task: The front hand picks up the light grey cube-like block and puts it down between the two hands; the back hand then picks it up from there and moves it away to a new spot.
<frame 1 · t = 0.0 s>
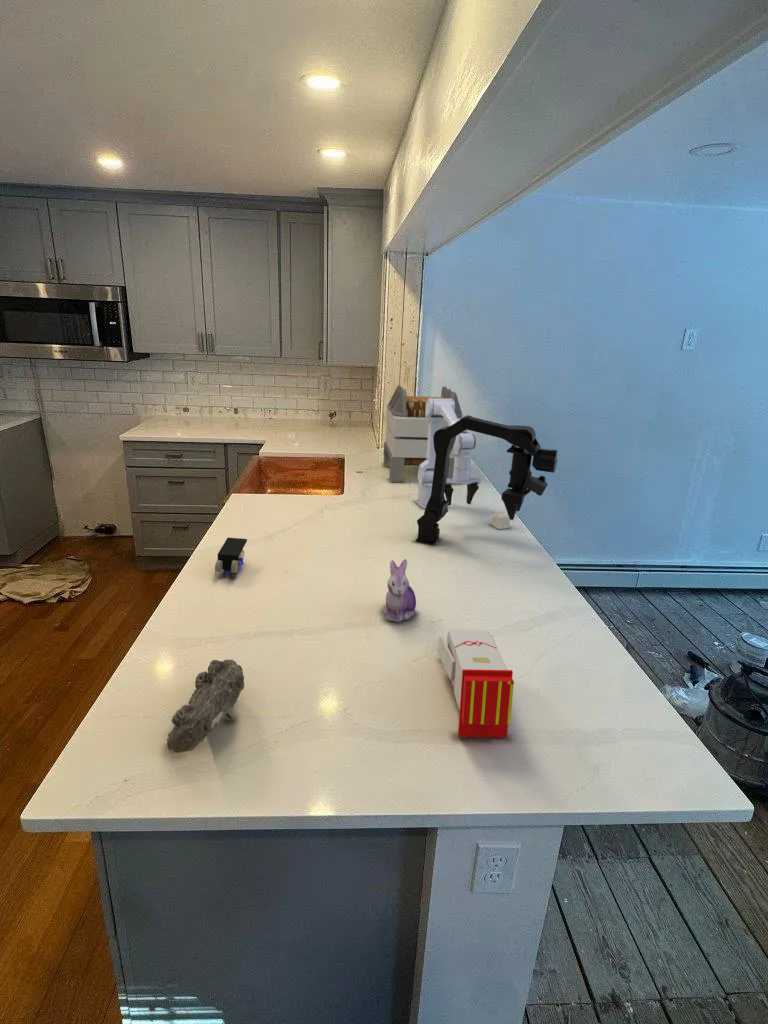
front hand: (514, 515, 180), 15 cm above the counter, tool pointing down, fingers open, 9 cm apart
back hand: (458, 504, 202), 10 cm above the counter, tool pointing down, fingers open, 7 cm apart
light grey cube-like block: (500, 526, 211), on the counter
figurine character: (232, 569, 168), on the counter
toy: (469, 691, 119), on the counter
figurine: (399, 614, 147), on the counter
fossil: (212, 717, 108), on the counter
grey wooden planter box: (419, 473, 275), on the counter
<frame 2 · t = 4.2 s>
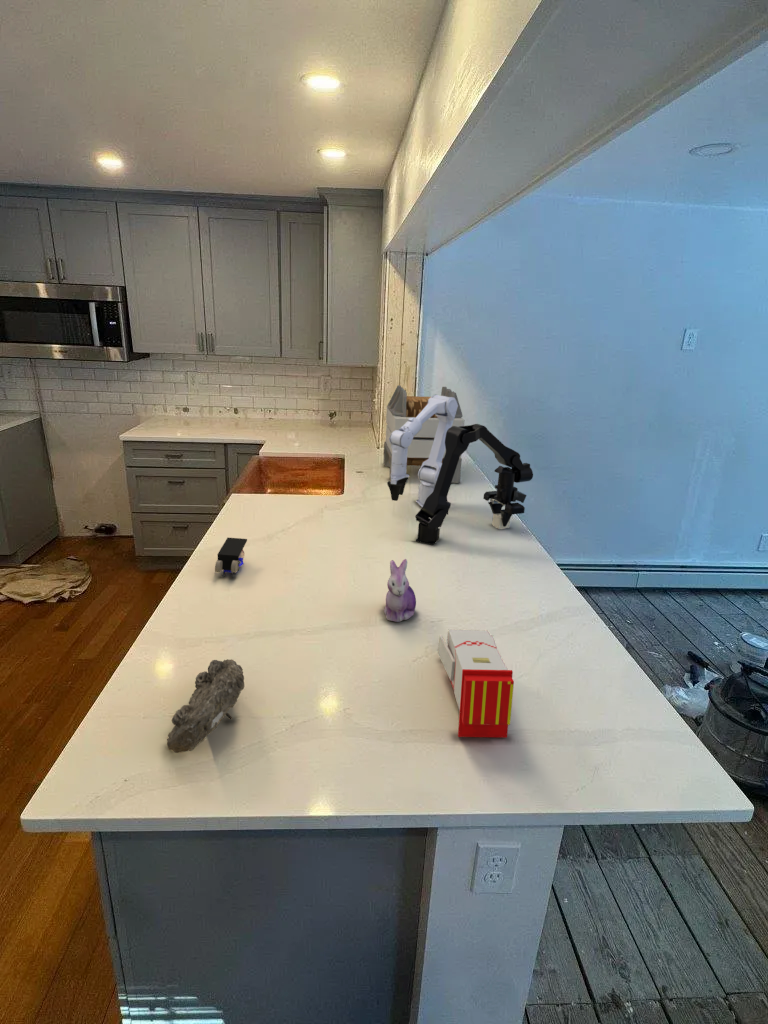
front hand: (500, 524, 211), 1 cm above the counter, tool pointing down, fingers closed on light grey cube-like block, 4 cm apart
back hand: (397, 497, 216), 7 cm above the counter, tool pointing down, fingers open, 7 cm apart
light grey cube-like block: (500, 526, 211), on the counter, touching front hand
everything else where it was.
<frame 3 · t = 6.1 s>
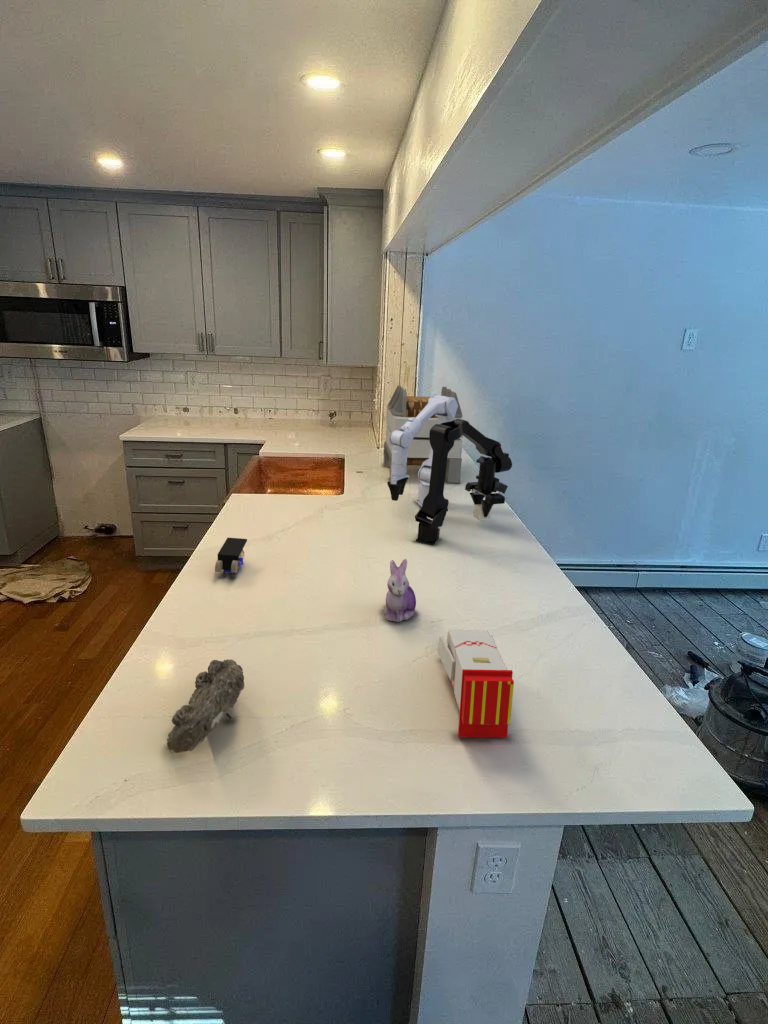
front hand: (482, 514, 210), 4 cm above the counter, tool pointing down, fingers closed on light grey cube-like block, 4 cm apart
back hand: (397, 497, 216), 7 cm above the counter, tool pointing down, fingers open, 7 cm apart
light grey cube-like block: (481, 517, 210), point 3 cm above the counter, touching front hand
everything else where it was.
when the front hand's fingers open (2 cm above the counter, at t = 8.5 s): light grey cube-like block stays where it is, on the counter.
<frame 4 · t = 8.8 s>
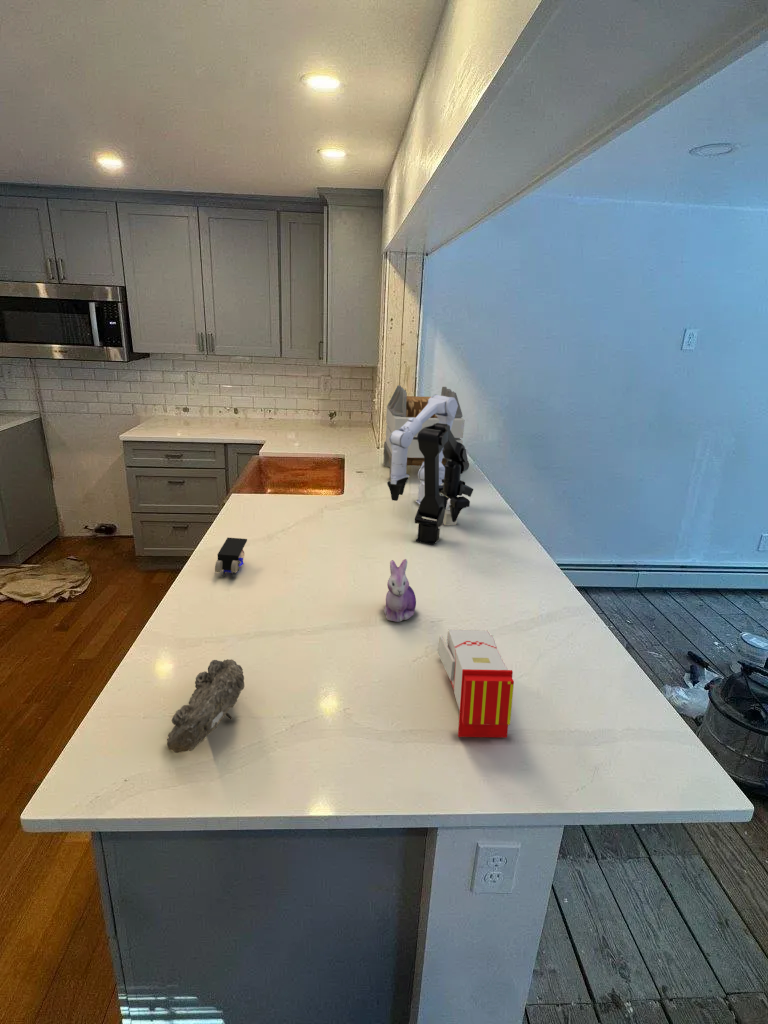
front hand: (448, 517, 212), 2 cm above the counter, tool pointing down, fingers open, 8 cm apart
back hand: (397, 497, 216), 7 cm above the counter, tool pointing down, fingers open, 7 cm apart
light grey cube-like block: (448, 522, 212), on the counter
everything else where it was.
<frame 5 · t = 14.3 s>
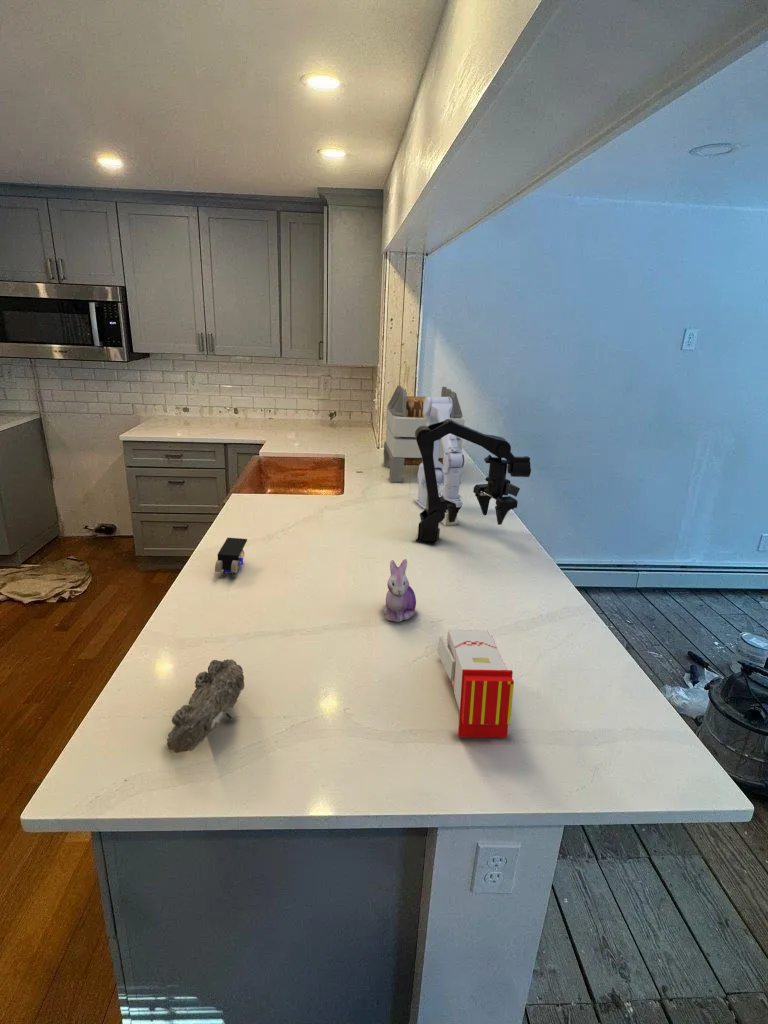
front hand: (492, 519, 193), 8 cm above the counter, tool pointing down, fingers open, 9 cm apart
back hand: (448, 519, 212), 1 cm above the counter, tool pointing down, fingers closed on light grey cube-like block, 4 cm apart
light grey cube-like block: (448, 522, 212), on the counter, touching back hand
everything else where it was.
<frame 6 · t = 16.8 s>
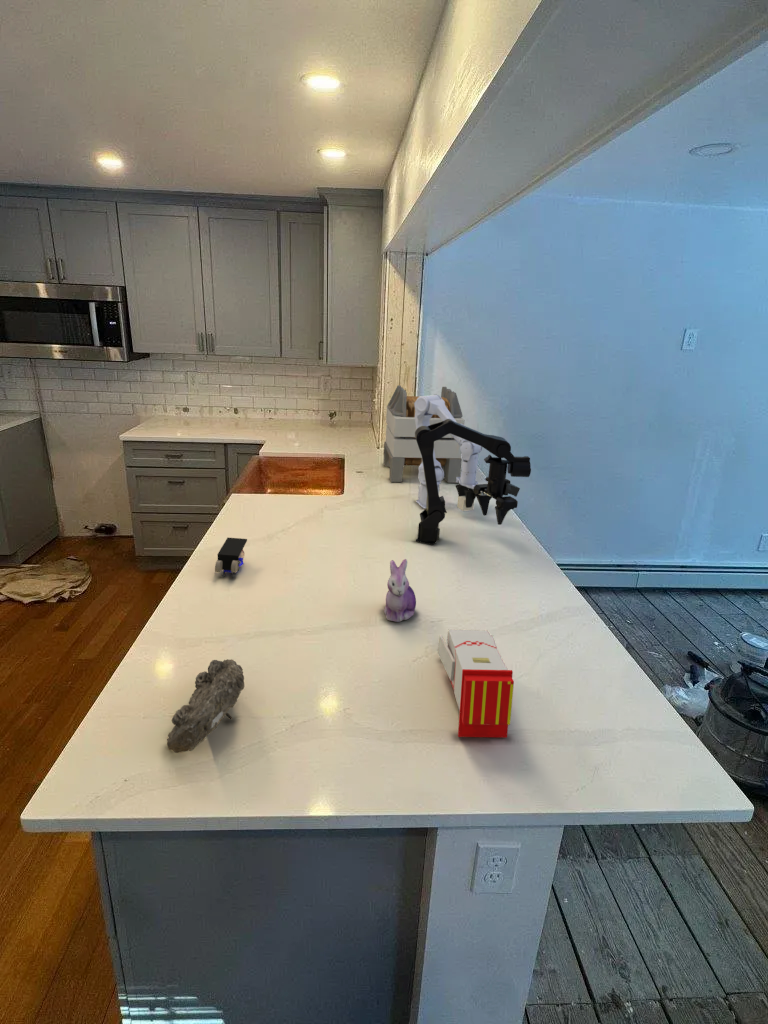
front hand: (492, 519, 193), 8 cm above the counter, tool pointing down, fingers open, 9 cm apart
back hand: (465, 505, 217), 5 cm above the counter, tool pointing down, fingers closed on light grey cube-like block, 4 cm apart
light grey cube-like block: (465, 508, 218), point 3 cm above the counter, touching back hand
everything else where it was.
when the back hand's fingers open (2 cm above the counter, at t = 19.4 s): light grey cube-like block stays where it is, on the counter.
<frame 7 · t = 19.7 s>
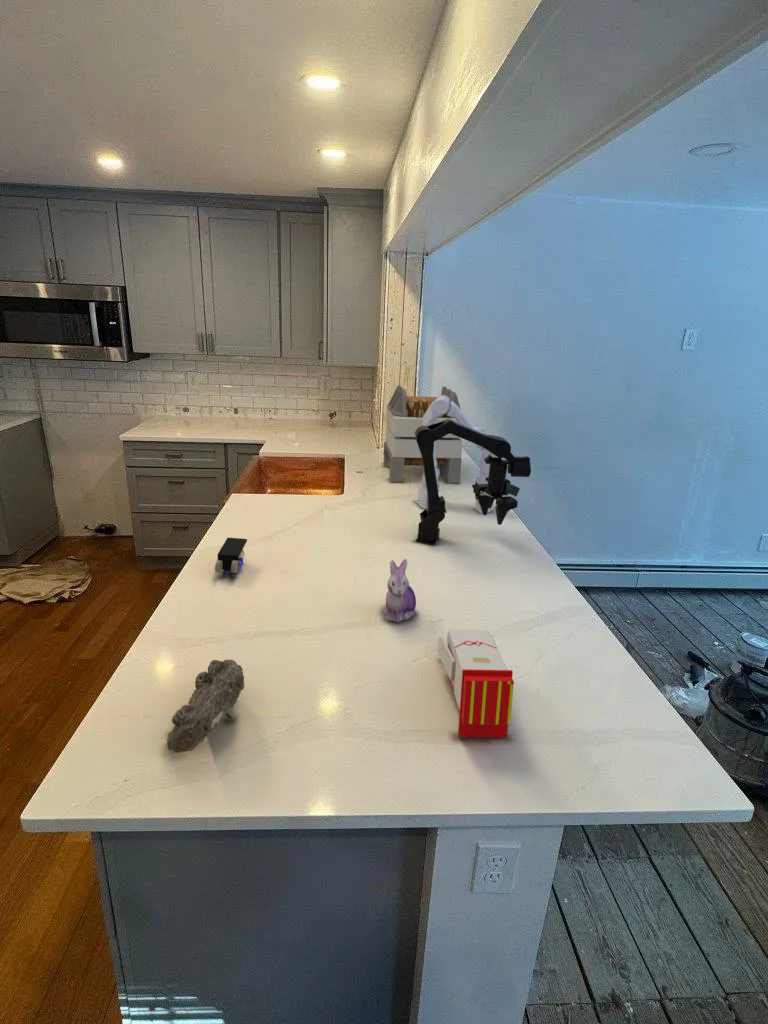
front hand: (492, 519, 193), 8 cm above the counter, tool pointing down, fingers open, 9 cm apart
back hand: (483, 504, 226), 2 cm above the counter, tool pointing down, fingers open, 7 cm apart
light grey cube-like block: (482, 510, 227), on the counter
everything else where it was.
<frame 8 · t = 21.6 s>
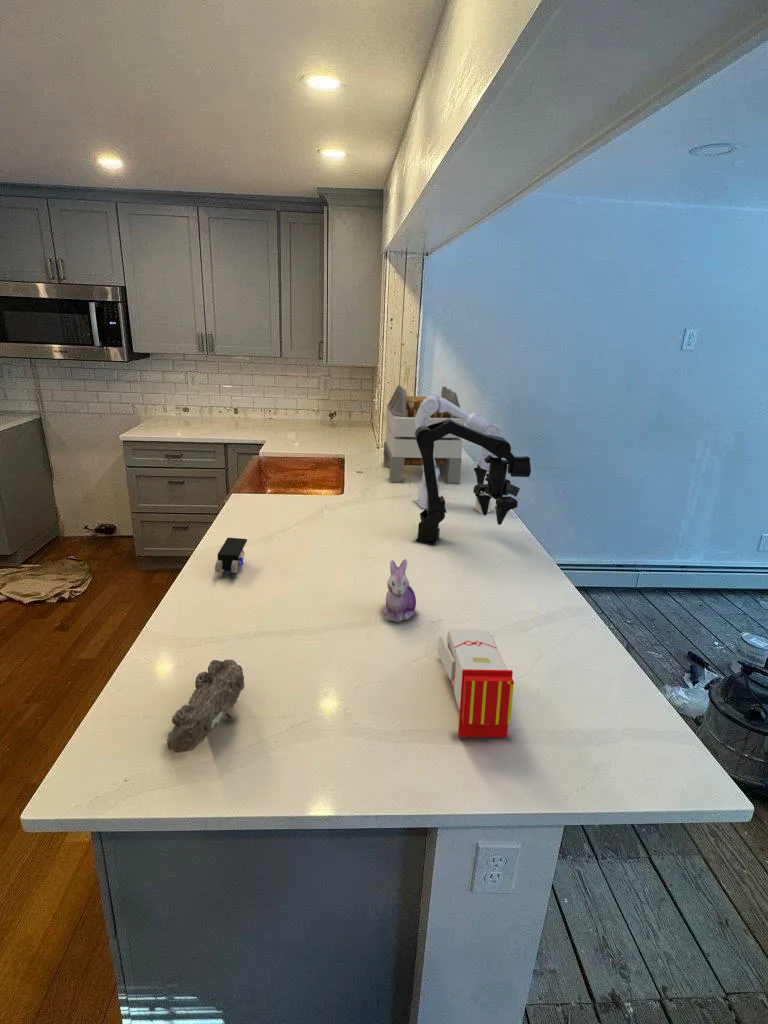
front hand: (492, 519, 193), 8 cm above the counter, tool pointing down, fingers open, 9 cm apart
back hand: (485, 488, 224), 9 cm above the counter, tool pointing down, fingers open, 7 cm apart
nothing on the counter moved.
at the end: light grey cube-like block inside the target area (0.0 cm from its centre), on the counter; light grey cube-like block tilted 0°; the two hands never held the light grey cube-like block at the same time; the front hand is holding nothing; the back hand is holding nothing; light grey cube-like block at rest at the end (0.0 cm/s) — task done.
